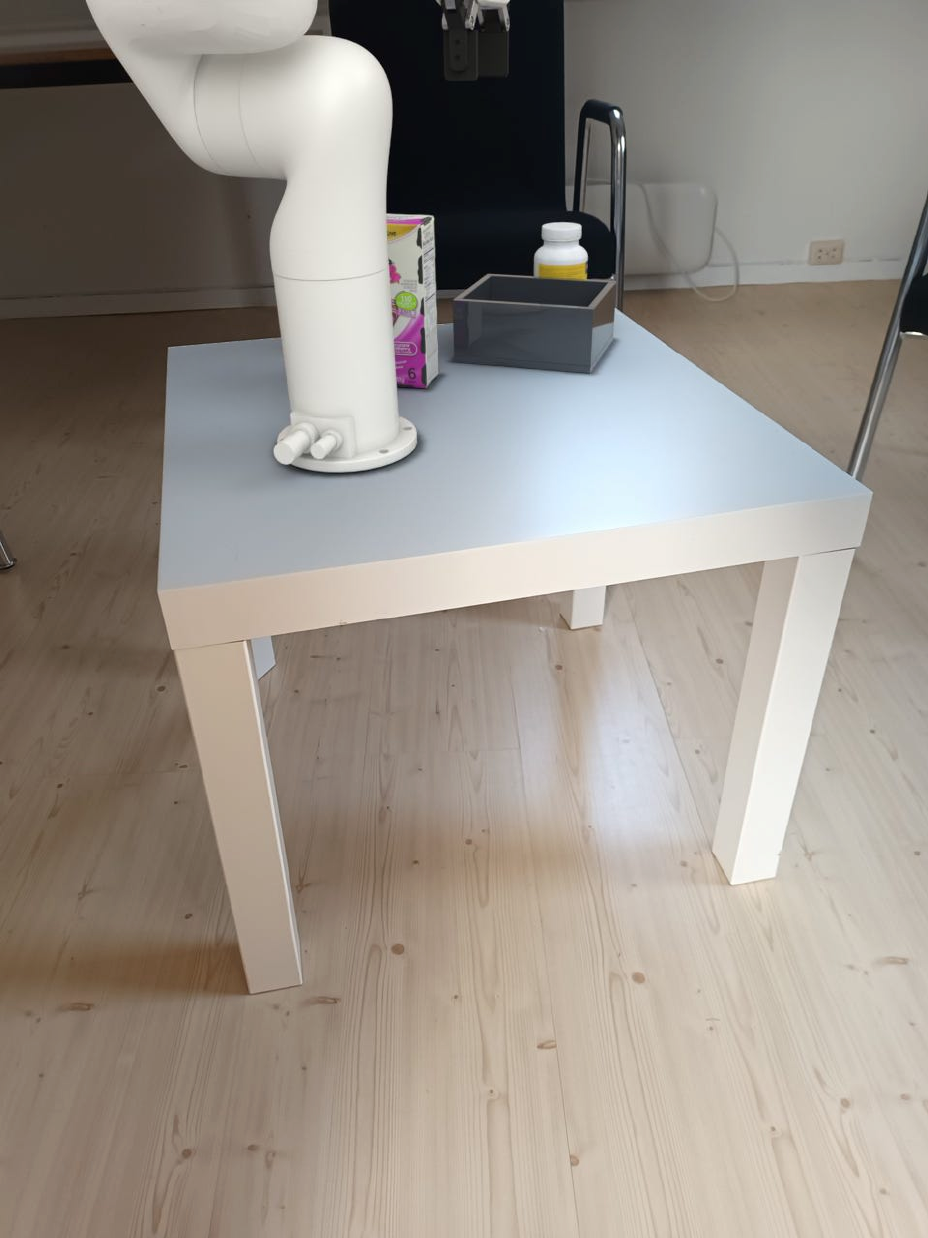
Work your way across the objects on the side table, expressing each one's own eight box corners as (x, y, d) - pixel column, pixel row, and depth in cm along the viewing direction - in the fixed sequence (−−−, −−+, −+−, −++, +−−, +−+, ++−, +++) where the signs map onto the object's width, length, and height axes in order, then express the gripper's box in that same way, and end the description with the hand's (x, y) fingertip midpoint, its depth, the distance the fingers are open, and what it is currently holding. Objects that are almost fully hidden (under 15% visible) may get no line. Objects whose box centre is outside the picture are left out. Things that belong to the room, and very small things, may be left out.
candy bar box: (327, 384, 99) (310, 219, 90) (344, 369, 103) (329, 210, 94) (428, 390, 96) (420, 221, 87) (441, 375, 100) (435, 212, 91)
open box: (590, 373, 100) (593, 309, 96) (454, 361, 104) (452, 299, 100) (612, 340, 110) (616, 280, 106) (487, 330, 114) (487, 273, 110)
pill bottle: (587, 331, 113) (592, 230, 106) (533, 332, 113) (535, 231, 106) (582, 317, 118) (587, 219, 112) (531, 318, 118) (533, 220, 112)
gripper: (468, -128, 90) (469, 76, 99) (400, -159, 76) (409, 81, 85) (543, -134, 88) (537, 75, 97) (487, -166, 74) (486, 81, 83)
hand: (477, 78), depth 91 cm, fingers open, 9 cm apart
